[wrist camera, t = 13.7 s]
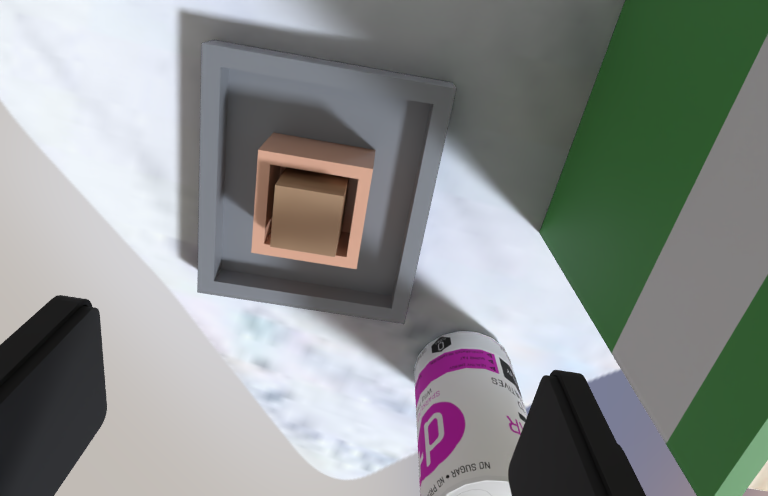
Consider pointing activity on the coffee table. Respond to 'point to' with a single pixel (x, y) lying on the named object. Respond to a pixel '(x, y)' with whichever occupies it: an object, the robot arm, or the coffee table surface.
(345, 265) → the salmon pink square box
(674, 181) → the hardback book
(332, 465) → the coffee table surface
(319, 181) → the block
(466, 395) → the supplement can
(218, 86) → the tray
